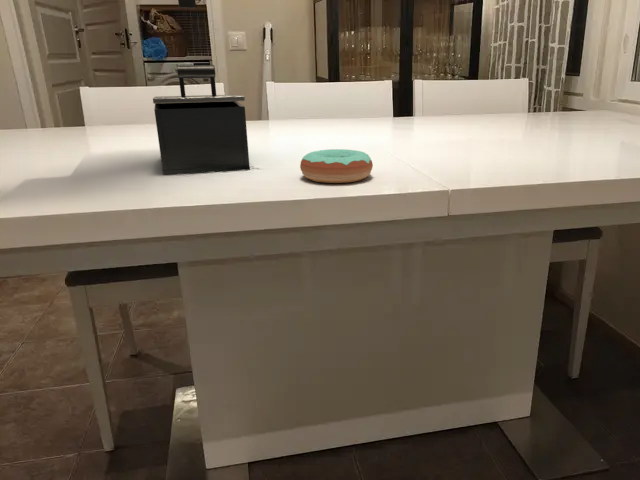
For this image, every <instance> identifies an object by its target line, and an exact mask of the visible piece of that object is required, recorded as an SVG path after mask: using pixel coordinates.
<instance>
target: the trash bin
mask: <svg viewBox="0 0 640 480" xmlns="http://www.w3.org/2000/svg"><path fill="white" fill-rule="evenodd" d="M153 108H154V118H155V124H156V134H157V137H158V138H157V139H158V146H159V154H160V161H161V168H162V175H163V176H173V175H188V174H189V175H190V174H202V173H204V174H205V173H217V172H233V171H234V172H235V171H248V170H251V168H250V166H251V165H250V155H249V154H250V153H249V144H248V142H249V141H248V131H247V117H246V115H247V114H246V107H245V105H243V104H241V103H240V102H239V101H231V102H197V103H162V104H154V107H153Z"/></svg>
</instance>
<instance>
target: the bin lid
mask: <svg viewBox="0 0 640 480" xmlns="http://www.w3.org/2000/svg"><path fill="white" fill-rule="evenodd" d="M215 67H216V66H215V65H214V64H200V65H199V64H194V65H193V64H190V65H186V64H185V65H184V64H182V65H176V74H177V79H178V82H179V90H180V95H171V96H170V95H167V96H165V95H163V96H154V97H153V98H152V104H154V105H155V104H162V103H197V102H231V101H237V102H246V96H245V95H238V94H217V87H216V68H215ZM185 79H209V81H210V90H211V94H207V95H206V94H204V95H186V88H185Z"/></svg>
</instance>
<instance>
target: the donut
mask: <svg viewBox="0 0 640 480" xmlns="http://www.w3.org/2000/svg"><path fill="white" fill-rule="evenodd" d="M373 166H374V164H373V160H372V159H371V157H370V156H369V154H368V153H366V152H364V151H360V150H355V149H346V148H345V149H343V148H342V149H341V148H339V149H337V148H336V149H335V148H333V149H332V148H331V149H320V150H314V151H310V152H308V153H307V154H305V155H304V156H303V157H302V159H301V160H300V164H299V168H300V171H301V173H302V175H303V176H304V177H305V178H307V179H308V180H310V181H312V182H317V183H325V184H345V183H347V184H348V183H354V182H359V181H362V180H364V179H366V178H367V177H369V176H370V174H371V172H372V170H373Z"/></svg>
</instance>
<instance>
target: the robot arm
mask: <svg viewBox="0 0 640 480" xmlns="http://www.w3.org/2000/svg"><path fill="white" fill-rule="evenodd" d="M177 3H178V9H196V8H197V1H196V0H177Z"/></svg>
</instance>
